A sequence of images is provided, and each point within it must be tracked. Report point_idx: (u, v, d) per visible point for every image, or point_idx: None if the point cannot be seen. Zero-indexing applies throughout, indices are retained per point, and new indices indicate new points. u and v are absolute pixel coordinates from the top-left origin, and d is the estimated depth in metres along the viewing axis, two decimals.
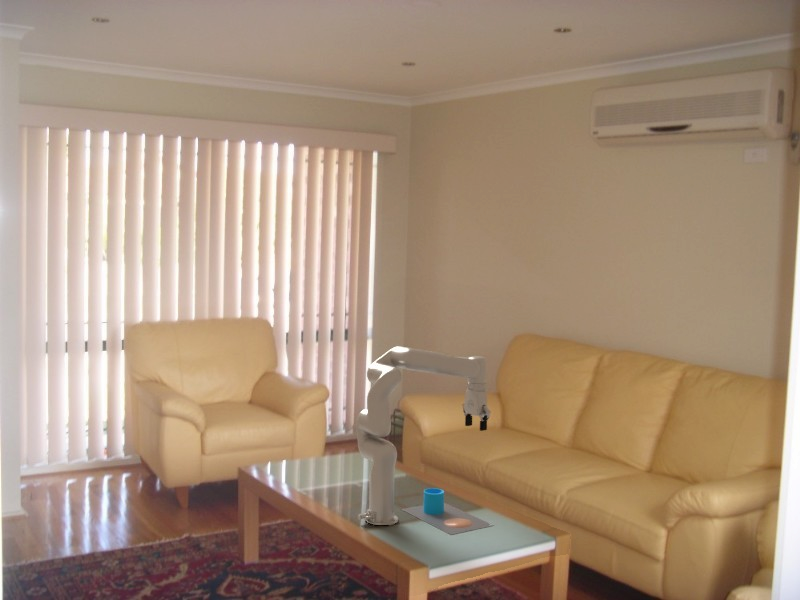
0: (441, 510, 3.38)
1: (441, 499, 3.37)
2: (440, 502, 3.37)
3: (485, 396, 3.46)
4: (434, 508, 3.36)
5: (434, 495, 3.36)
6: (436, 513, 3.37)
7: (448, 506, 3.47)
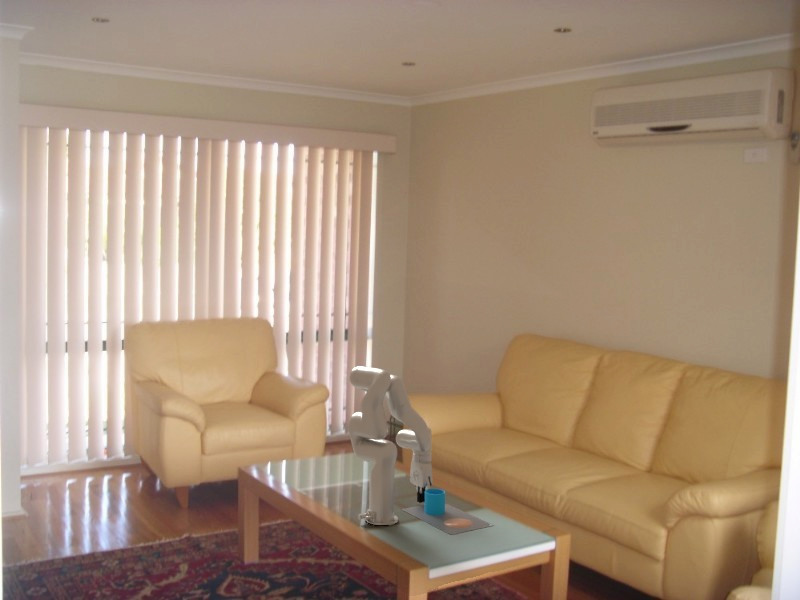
0: (442, 511, 3.37)
1: (442, 500, 3.37)
2: (441, 503, 3.36)
3: (430, 468, 3.44)
4: (435, 509, 3.36)
5: (435, 496, 3.35)
6: (437, 514, 3.36)
7: (448, 506, 3.47)
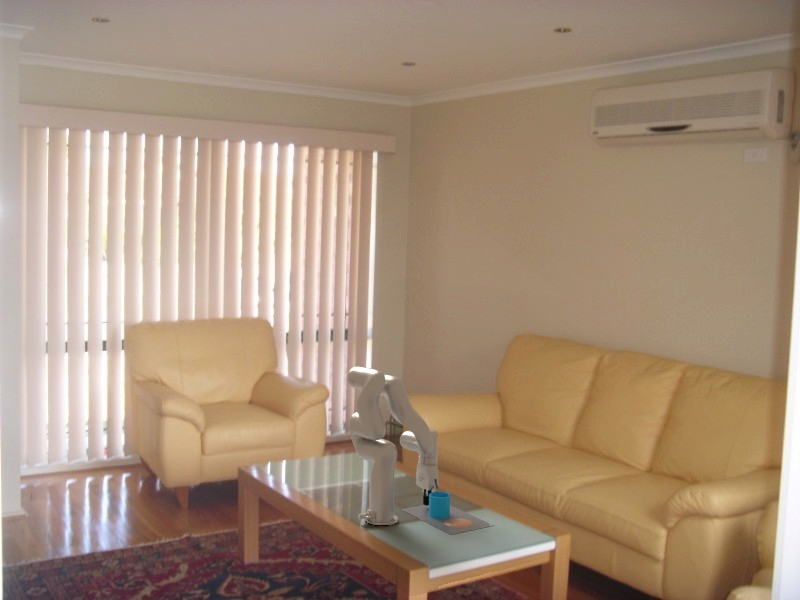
0: (446, 514, 3.33)
1: (446, 503, 3.32)
2: (445, 506, 3.32)
3: (436, 470, 3.40)
4: (439, 512, 3.32)
5: (439, 499, 3.31)
6: (441, 517, 3.32)
7: None
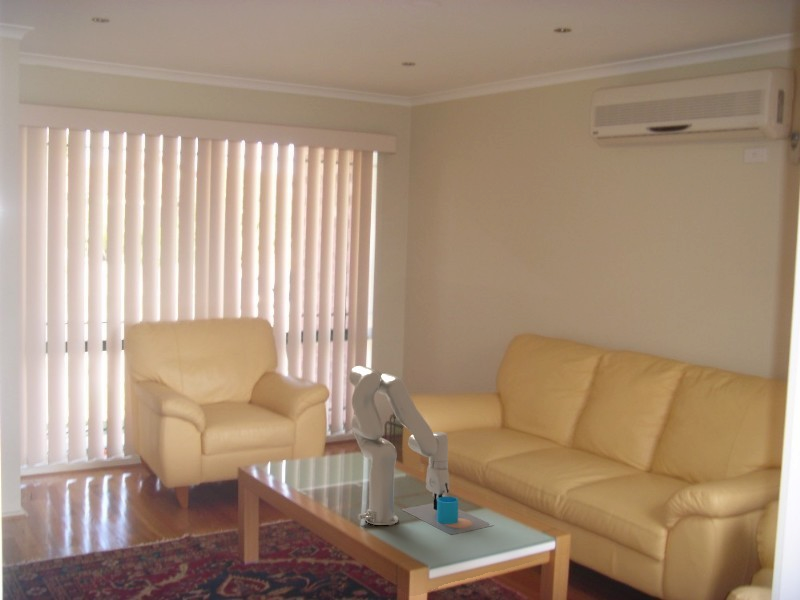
0: (453, 520, 3.26)
1: (453, 509, 3.26)
2: (452, 511, 3.26)
3: (447, 474, 3.35)
4: (446, 517, 3.26)
5: (445, 504, 3.25)
6: (447, 522, 3.26)
7: None
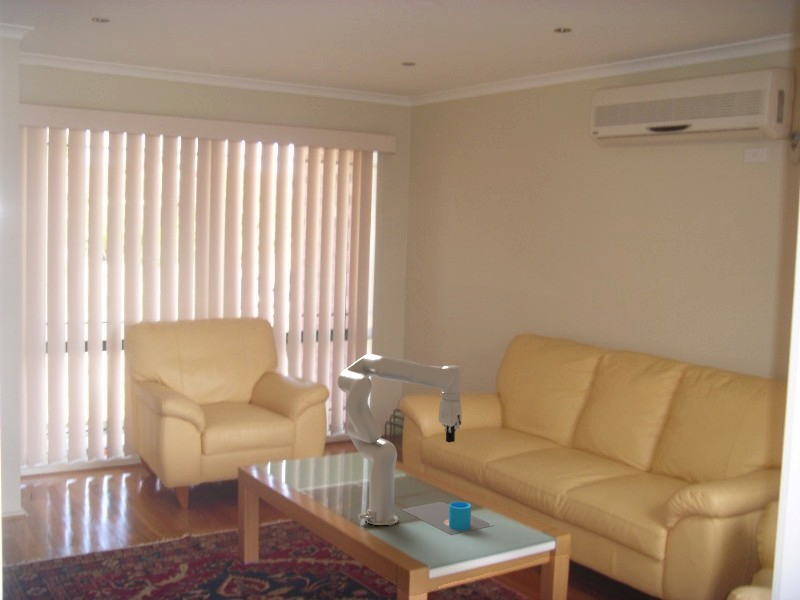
0: (466, 525, 3.20)
1: (466, 514, 3.20)
2: (465, 517, 3.19)
3: (459, 406, 3.39)
4: (458, 523, 3.19)
5: (458, 509, 3.19)
6: (460, 528, 3.19)
7: (448, 506, 3.47)
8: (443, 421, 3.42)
